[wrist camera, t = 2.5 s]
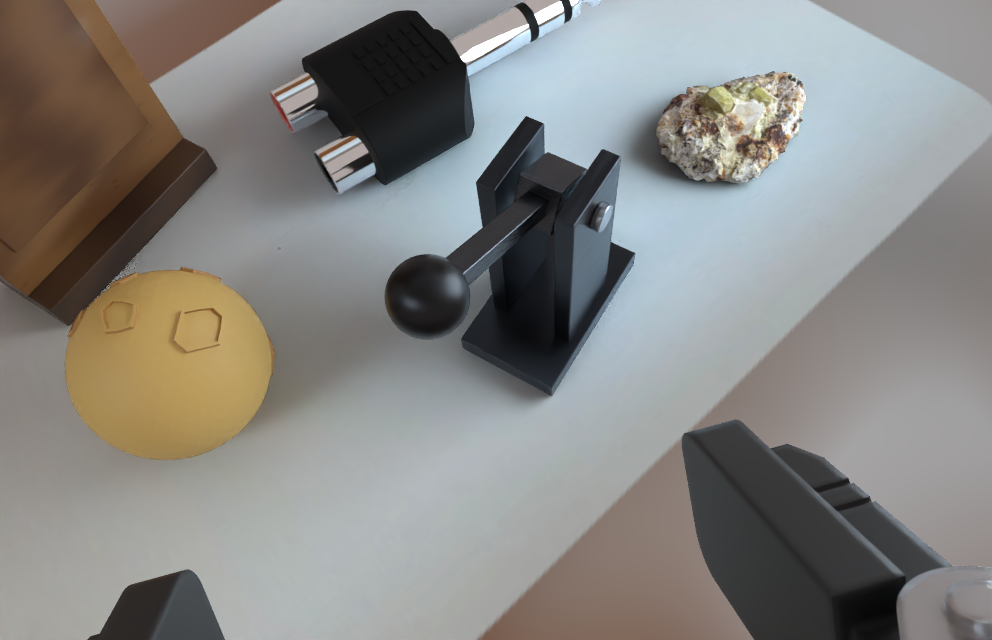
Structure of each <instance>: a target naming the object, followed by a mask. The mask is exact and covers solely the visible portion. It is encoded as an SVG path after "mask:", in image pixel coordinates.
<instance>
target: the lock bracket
mask: <svg viewBox="0 0 992 640" xmlns="http://www.w3.org/2000/svg"><path fill="white" fill-rule="evenodd" d="M543 155H544V124H543V123H541V122H539V121H537V120H534V119H532V118H529V117H527V116H526V117H525V118H524V119H523V121H522V122H521V123H520V125H519V126H518V127H517V129H516V130H515V131H514V133H513V134H512V135H511V137H510V138H509V139H508V141H507V142H506V143H505V145H504V146H503V147H502V148H501V150H500V151H499V152H498V154H497V155H496V156H495V158H494V159H493V160H492V162H491V163H490V164H489V166H488V167H487V168H486V170H485V171H484V172H483V174H482V175H481V176H480V178H479V179H478V180H477V182H476V185H477V192H478V199H479V206H480V213H481V219H482V226H483V227H484V226H486V225H487V224H488V223H489V222H491V221H492V220H493V219H494V218H495V217H497V216H498V215H499V214H500V213H502V212H503V211H504V210H505V209H506V208H508V207H509V206H510V205H511V204H513V203H514V198H515V193H516V188H517V184H518V179H519V174H520V173H521V172H522V171H524V170H525V169H526V168H528V167H529V166H530V165H531V164H533V163H534V162H535V161H537V160H538V159H539V158H541V157H542V156H543ZM620 161H621V157H620V156H618V155H616V154H614V153H611V152H609V151H607V150H604V149H602V150H601V151H600V153H599V154H598V156H597V157H596V158H595V160H594V161H593V163H592V164H591V166H590V167H589V169H588V170H587V172H586V173H585V174H584V176H583V177H582V179H581V180H580V182H579V183H578V185H577V186H576V188H575V189H574V190H573V192H572V193H571V195H570V196H569V198H568V199H567V201H566V202H565V204H564V205H563V206H562V208H561V209H560V211H559V212H558V214H557V215H556V217H555V219H554V233H553V234H552V235H551V236H549V235H547V234H545V233H543V232H541V231H539V230H537V229H535V228H532V229H531V230H530V231H529V232H528V233H527V234H526V235H524V236H523V237H522V238H521V239H520V240H519V241H518V242H517V243H516V244H514V245H513V246H512V247H511V248H510V249H509V250H508V251H507V252H505V253H504V254H503V255H502V256H501V257H500V258H499V259H498V260H497V261H495V262H494V263H493V264H492V265H491V266H490V267H489V274H490V281H491V287H492V295H491V296H490V298H489V299H488V301H487V302H486V304H485V305H484V307H483V308H482V309H481V311H480V312H479V314H478V315H477V317H476V318H475V320H474V321H473V322H472V324H471V325H470V327H469V328H468V330H467V331H466V333H465V334H464V335H463V337H462V338H461V341H462V345H463V348H464V349H466V350H468V351H470V352H472V353H473V354H475V355H477V356H479V357H481V358H483V359H485V360H486V361H488V362H490V363H492V364H494V365H496V366H497V367H499V368H501V369H503V370H505V371H507V372H509V373H510V374H512V375H514V376H516V377H518V378H520V379H521V380H523V381H525V382H527V383H529V384H531V385H533V386H534V387H536V388H538V389H540V390H542V391H544V392H546V393H547V394H549V395H551V396H552V395H553V394H554V392H555V390H556V389H557V387H558V385H559V384H560V382H561V381H562V379H563V377H564V376H565V374H566V372H567V371H568V369H569V368H570V366H571V364H572V363H573V361H574V359H575V358H576V356H577V355H578V353H579V351H580V350H581V348H582V347H583V345H584V343H585V342H586V340H587V338H588V337H589V335H590V334H591V332H592V330H593V329H594V327H595V325H596V324H597V322H598V321H599V319H600V317H601V316H602V314H603V312H604V311H605V309H606V308H607V306H608V304H609V303H610V301H611V300H612V298H613V296H614V295H615V293H616V291H617V290H618V288H619V287H620V285H621V283H622V282H623V280H624V278H625V277H626V275H627V274H628V272H629V270H630V269H631V267H632V266H633V264H634V258H635V253H633V252H631V251H629V250H627V249H625V248H622V247H620V246H618V245H616V244H614V243H612V242H611V235H612V226H613V218H614V210H615V202H616V194H617V186H618V177H619V169H620Z"/></svg>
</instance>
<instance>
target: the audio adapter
mask: <svg viewBox="0 0 992 640" xmlns="http://www.w3.org/2000/svg"><path fill="white" fill-rule="evenodd" d="M601 1H602V0H524V1H522V2H520V3H519V4H517V5H516V6H514V7H511V8H509V9H507V10H505V11H503V12H501V13H499V14H497V15H496V16H494V17H492V18H490V19H488V20H486V21H484V22H482V23H481V24H479V25H477V26H475V27H473V28H471V29H469V30H467V31H466V32H464V33H462V34H460V35H458V36H456V37H454V38H453V39H451V40H449V39H448V38H447V37H446V36H445V35H444V34H443V33H442V32H441V31H439V30H437V29H433V28H432V27H431V26H430V25H429V24H428V23H427V21H426V20H425V19H424V18H423V17H422V16H421V15H420V14H419V13H418V12H417V11H409V10H406V11H396V12H393V13H390V14H387V15H386V16H384V17H382V18H380V19H378V20H376V21H374V22H372V23H370V24H368V25H366V26H364V27H362V28H360V29H358V30H357V31H355V32H353V33H351V34H349V35H347V36H345V37H343V38H341V39H339V40H337V41H335V42H333V43H331V44H329V45H327V46H325V47H324V48H322V49H320V50H318V51H316V52H314V53H312V54H310V55H308V56H306V57H304V58H302V65H303V68H304V71H305V73H303V74H301V75H299V76H297V77H295V78H293V79H292V80H290V81H288V82H286V83H284V84H282V85H280V86H278V87H276V88H274V89H272V90H270V91H269V93H270V96H271V99H272V101H273V103H274V105H275V107H276V109H277V110H278V112H279V114H280V116H281V117H282V119H283V120H284V122H285V124H286V125H287V127H288V128H289V130H290V131H291V132H292V133H296V132H298V131H300V130H302V129H304V128H305V127H307V126H309V125H311V124H313V123H315V122H317V121H318V120H320V119H322V118H324V117H326V116H329V118H330V119H331V121H332V122H333V123H334V124H335V126H336V127H337V128H338V130H339V131H340V132H341V133H342V136H340V137H338V138H337V139H335V140H333V141H331V142H329V143H327V144H326V145H324V146H322V147H320V148H318V149H316V150H315V151H314V152H313V153H314V156H315V159H316V161H317V163H318V165H319V167H320V169H321V171H322V172H323V174H324V176H325V177H326V179H327V181H328V182H329V184H330V185H331V187H332V188H333V190H334V191H335V192H336V193H337V194H341V193H343V192H345V191H346V190H348V189H350V188H352V187H353V186H355V185H357V184H359V183H361V182H362V181H364V180H366V179H368V178H369V177H371V176H373V175H374V176H375V177H376V178H377V179H378V180H379V181H380V182H381V183H382V184H384V185H387V184H388V183H390V182H392V181H394V180H395V179H397V178H399V177H401V176H402V175H404V174H406V173H408V172H410V171H411V170H413V169H415V168H417V167H418V166H420V165H422V164H424V163H425V162H427V161H429V160H431V159H432V158H434V157H436V156H438V155H439V154H441V153H443V152H445V151H446V150H448V149H450V148H452V147H453V146H455V145H457V144H459V143H460V142H462V141H464V140H466V139H467V138H469V137H470V136H471V134H472V131H473V127H474V118H473V110H472V103H471V96H470V87H469V80H468V77H470V76H471V75H473V74H475V73H477V72H479V71H481V70H482V69H484V68H486V67H488V66H490V65H491V64H493V63H495V62H497V61H499V60H500V59H502V58H504V57H506V56H508V55H510V54H511V53H513V52H515V51H517V50H519V49H520V48H522V47H524V46H526V45H528V44H529V43H530V42H532V41H534V40H536V39H539V38H540V37H542V36H544V35H546V34H548V33H550V32H551V31H553V30H555V29H557V28H559V27H560V26H562V25H563V24H565V23H566V22H569V21H571V20H573V19H575V18H577V17H578V15H579V14H580V11H581V4H582V3H583V2H586V3H587V4H588V5H590V6H591V7H596V6H599V4H600V3H601Z"/></svg>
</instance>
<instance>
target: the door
mask: <svg viewBox="0 0 992 640" xmlns="http://www.w3.org/2000/svg"><path fill="white" fill-rule="evenodd" d="M216 169H217V167H216V165H215V164H214V162H213V160H212V159H211V157H210V156H209V154H208V152H207V151H206V149H204V148H202V147H200V146H198V145H196V144H194V143H192V142H190V141H188V140H186V139H184V138H183V136H182V135H181V133H180V132H179V130H178V128H177V127H176V125H175V124H174V122H173V121H172V119H171V118H170V116H169V115H168V113H167V111H166V110H165V108H164V107H163V105H162V104H161V102H160V101H159V99H158V98H157V96H156V94H155V93H154V91H153V90H152V88H151V87H150V85H149V84H148V82H147V81H146V79H145V77H144V76H143V74H142V73H141V71H140V70H139V68H138V67H137V65H136V64H135V62H134V60H133V59H132V57H131V56H130V54H129V53H128V51H127V50H126V48H125V47H124V45H123V44H122V42H121V40H120V39H119V37H118V36H117V34H116V33H115V31H114V30H113V28H112V27H111V25H110V24H109V22H108V21H107V19H106V17H105V16H104V15H103V13H102V11H101V10H100V8H99V6H98V5H97V3H96V2H95V0H0V281H1V282H2V283H3V284H5V285H6V286H8V287H9V288H11V289H12V290H14V291H15V292H17V293H18V294H20V295H21V296H23V297H24V298H26V299H28V300H29V301H31V302H32V303H34V304H35V305H37V306H38V307H40V308H41V309H43V310H44V311H46V312H48V313H49V314H51V315H52V316H54V317H55V318H57V319H58V320H60V321H61V322H63V323H64V324H66V325H68V326H69V325H70V324H71V323H72V322H73V321H74V320H75V319H76V318H77V316H78V315H79V313H80V312H81V311H82V310H84V309H85V308H86V307H87V306H88V305H89V304H90V303H91V302H92V301H93V300H94V299H95V298H96V297H97V296H98V295H99V294H100V292H101V291H102V290H103V289H104V288H105V287H106V286H107V285H108V284H109V283H110V282H111V281H112V280H113V279H114V278H115V276H116V275H117V274H118V273H119V272H120V271H121V270H122V269H123V268H124V267H125V266H126V265H127V264H128V263H129V262H130V261H131V259H132V258H133V257H134V256H135V255H136V254H137V253H138V252H139V251H140V250H141V249H142V248H143V247H144V246H145V245H146V243H147V242H148V241H149V240H150V239H151V238H152V237H153V236H154V235H155V234H156V233H157V232H158V231H159V230H160V229H161V228H162V226H163V225H164V224H165V223H166V222H167V221H168V220H169V219H170V218H171V217H172V216H173V215H174V214H175V213H176V212H177V210H178V209H179V208H180V207H181V206H182V205H183V204H184V203H185V202H186V201H187V200H188V199H189V198H190V197H191V196H192V195H193V193H194V192H195V191H196V190H197V189H198V188H199V187H200V186H201V185H202V184H203V183H204V182H205V181H206V180H207V179H208V177H209V176H210V175H211V174H212V173H213V172H214V171H215V170H216Z"/></svg>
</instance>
